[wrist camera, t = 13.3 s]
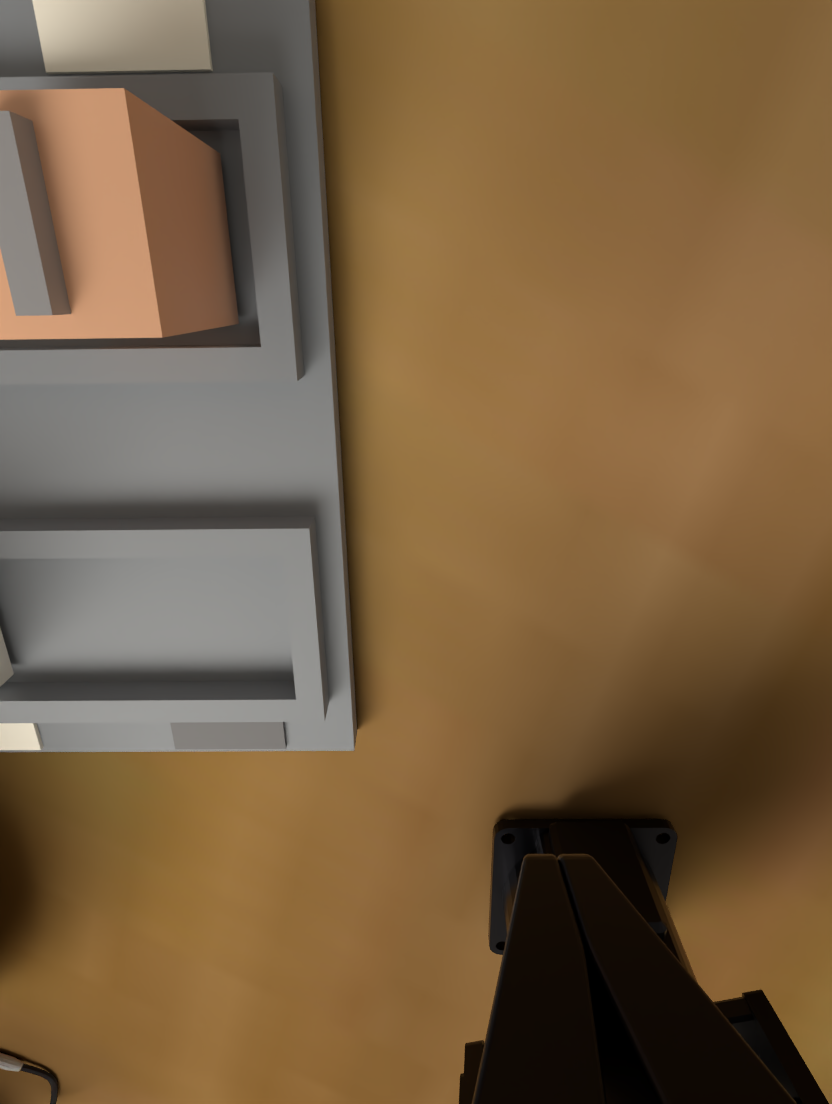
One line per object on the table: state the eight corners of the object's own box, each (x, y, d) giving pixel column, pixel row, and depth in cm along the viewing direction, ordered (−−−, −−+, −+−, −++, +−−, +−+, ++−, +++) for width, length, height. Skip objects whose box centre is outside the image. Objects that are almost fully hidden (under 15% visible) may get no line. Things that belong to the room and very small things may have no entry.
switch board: (357, 730, 22) (351, 771, 20) (-107, 733, 22) (-155, 773, 20) (314, -3, 14) (298, -47, 12) (-389, 11, 15) (-508, -30, 13)
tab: (239, 324, 16) (148, 339, 11) (93, 325, 16) (-69, 342, 11) (220, 153, 14) (106, 75, 9) (60, 155, 14) (-143, 79, 9)
